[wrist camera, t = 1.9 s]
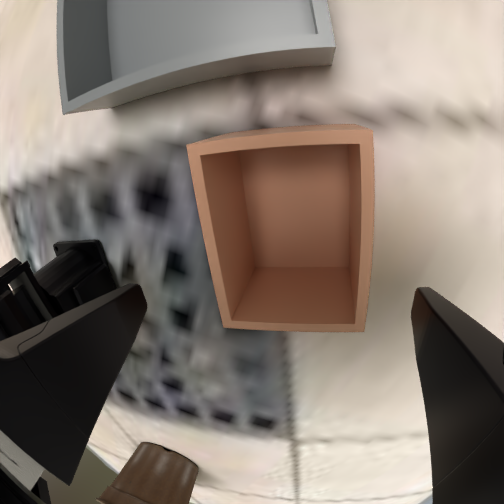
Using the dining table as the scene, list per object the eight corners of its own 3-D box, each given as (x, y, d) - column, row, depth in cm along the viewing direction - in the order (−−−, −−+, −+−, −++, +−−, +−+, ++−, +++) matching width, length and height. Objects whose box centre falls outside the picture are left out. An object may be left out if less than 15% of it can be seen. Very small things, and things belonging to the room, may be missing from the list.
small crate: (250, 269, 20) (223, 327, 15) (230, 132, 16) (186, 144, 11) (355, 268, 18) (364, 331, 13) (354, 124, 14) (372, 130, 9)
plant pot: (117, 436, 45) (84, 494, 31) (154, 432, 38) (113, 510, 24) (178, 473, 49) (153, 529, 35) (226, 474, 41) (200, 545, 27)
